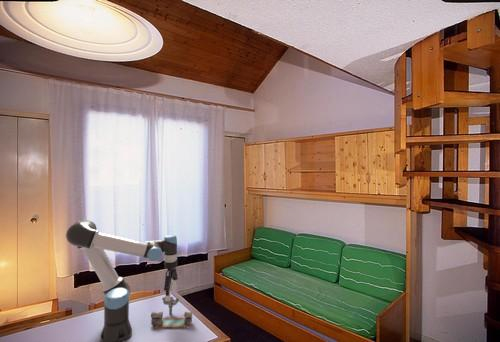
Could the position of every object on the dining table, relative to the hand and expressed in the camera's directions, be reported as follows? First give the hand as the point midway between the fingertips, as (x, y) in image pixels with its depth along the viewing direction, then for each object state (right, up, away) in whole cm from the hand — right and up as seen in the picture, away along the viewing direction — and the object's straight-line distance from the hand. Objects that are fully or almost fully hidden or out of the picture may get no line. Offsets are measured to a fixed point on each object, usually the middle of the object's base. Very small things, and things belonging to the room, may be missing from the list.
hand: (171, 295), depth 165 cm
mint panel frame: (+5, -11, -11) cm, 17 cm away
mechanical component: (0, -12, 0) cm, 12 cm away
